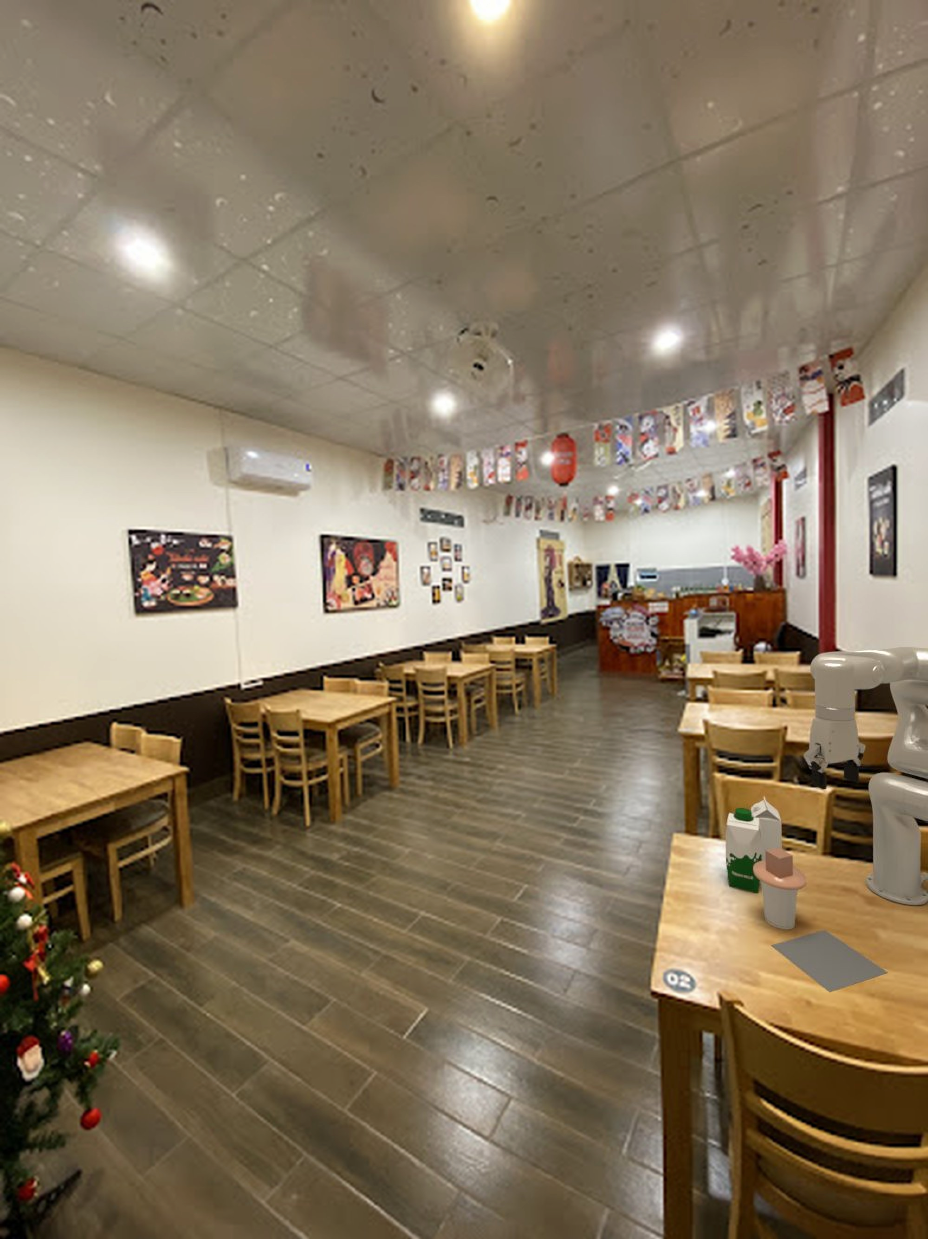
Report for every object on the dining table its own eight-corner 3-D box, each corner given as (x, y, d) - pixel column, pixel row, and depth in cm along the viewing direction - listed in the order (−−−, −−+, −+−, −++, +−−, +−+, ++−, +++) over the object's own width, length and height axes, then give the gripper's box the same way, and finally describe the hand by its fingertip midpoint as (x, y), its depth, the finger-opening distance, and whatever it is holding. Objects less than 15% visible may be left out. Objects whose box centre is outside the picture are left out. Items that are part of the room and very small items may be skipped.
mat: (824, 932, 119) (824, 929, 119) (888, 976, 106) (888, 972, 106) (770, 948, 115) (770, 945, 115) (829, 995, 102) (829, 992, 102)
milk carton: (778, 858, 151) (777, 797, 150) (782, 871, 145) (781, 807, 143) (751, 854, 154) (750, 794, 153) (753, 866, 148) (752, 804, 146)
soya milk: (762, 879, 141) (761, 810, 140) (761, 896, 134) (761, 824, 132) (727, 871, 146) (726, 804, 145) (725, 887, 138) (723, 817, 137)
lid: (777, 860, 129) (776, 838, 129) (817, 884, 119) (817, 860, 118) (742, 869, 126) (742, 846, 126) (781, 894, 116) (781, 869, 115)
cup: (805, 936, 118) (804, 887, 118) (768, 933, 120) (767, 885, 119) (790, 914, 126) (789, 868, 126) (755, 911, 128) (755, 866, 127)
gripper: (847, 705, 123) (847, 772, 124) (790, 713, 118) (792, 783, 120) (879, 712, 115) (879, 783, 117) (820, 721, 111) (821, 796, 112)
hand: (835, 783), depth 118 cm, fingers open, 9 cm apart
